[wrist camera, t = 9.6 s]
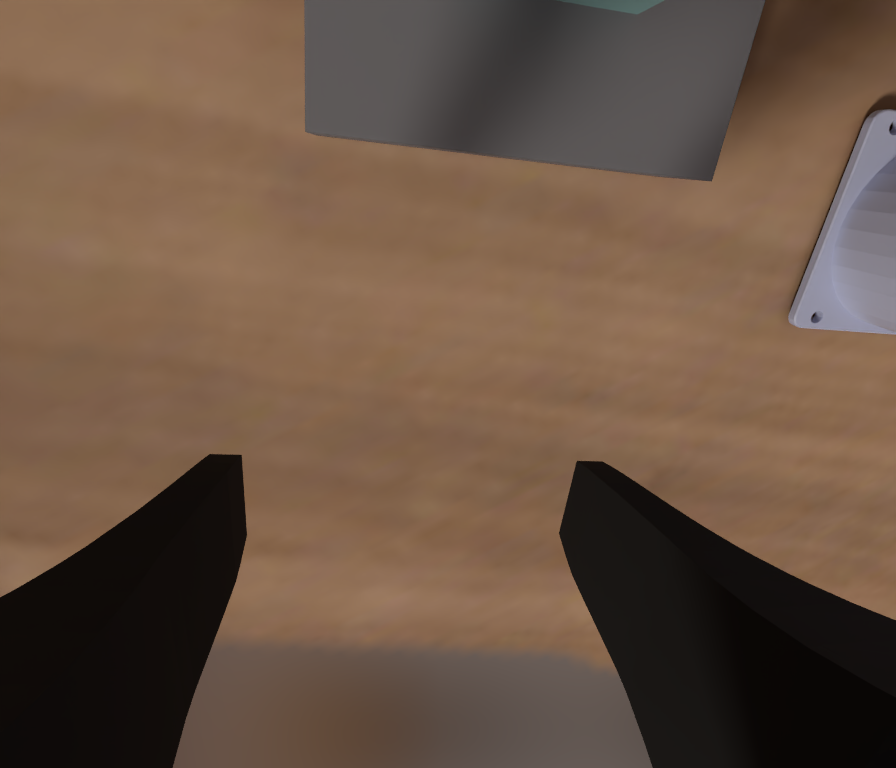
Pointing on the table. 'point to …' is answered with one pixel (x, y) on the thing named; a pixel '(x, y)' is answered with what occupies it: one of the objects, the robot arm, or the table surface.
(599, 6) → the teal block
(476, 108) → the plinth
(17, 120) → the table surface
